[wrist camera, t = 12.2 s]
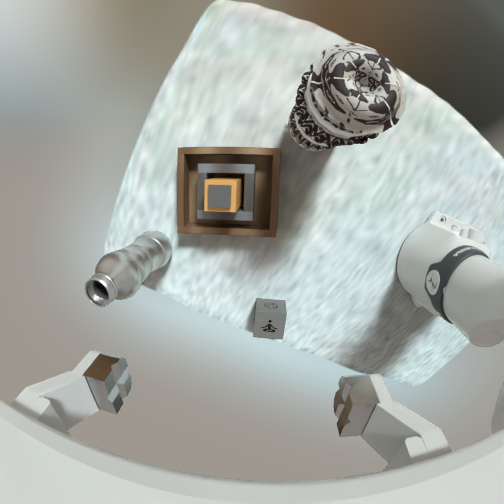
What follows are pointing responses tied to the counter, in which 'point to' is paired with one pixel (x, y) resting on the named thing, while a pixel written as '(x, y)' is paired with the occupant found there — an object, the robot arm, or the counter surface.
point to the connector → (223, 194)
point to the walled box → (228, 166)
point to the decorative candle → (346, 98)
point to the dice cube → (269, 318)
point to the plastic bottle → (127, 268)
